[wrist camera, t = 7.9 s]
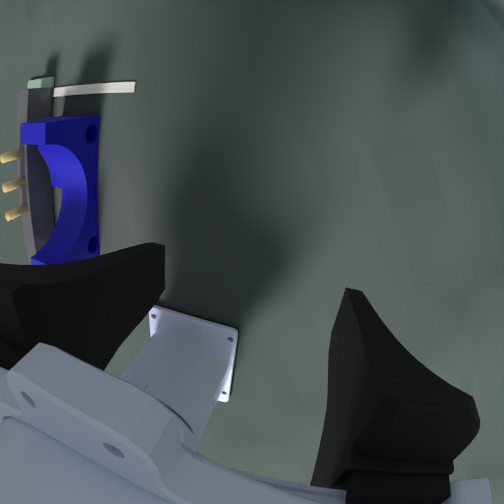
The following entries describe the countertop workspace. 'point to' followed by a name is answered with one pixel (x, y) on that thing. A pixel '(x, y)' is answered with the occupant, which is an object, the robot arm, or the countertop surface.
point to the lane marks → (95, 88)
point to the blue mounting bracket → (69, 184)
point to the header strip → (32, 169)
